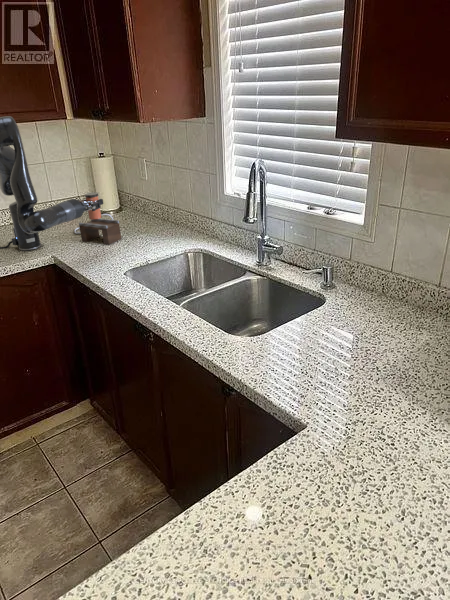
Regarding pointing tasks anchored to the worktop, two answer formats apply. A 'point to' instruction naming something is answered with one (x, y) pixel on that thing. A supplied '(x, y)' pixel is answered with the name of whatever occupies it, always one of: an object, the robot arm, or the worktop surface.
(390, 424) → the worktop surface
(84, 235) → the rail rack
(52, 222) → the robot arm
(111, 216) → the hook
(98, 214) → the spice jar
